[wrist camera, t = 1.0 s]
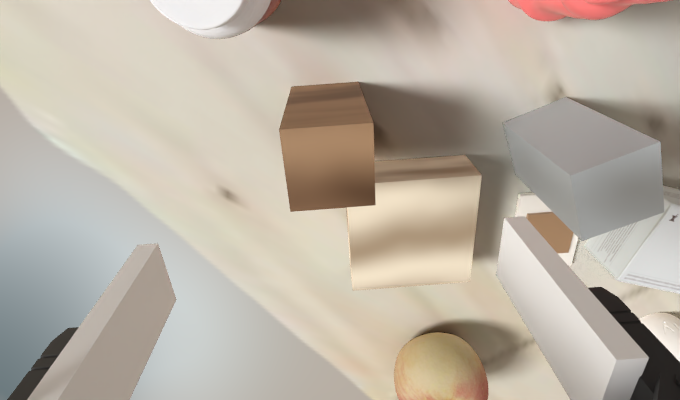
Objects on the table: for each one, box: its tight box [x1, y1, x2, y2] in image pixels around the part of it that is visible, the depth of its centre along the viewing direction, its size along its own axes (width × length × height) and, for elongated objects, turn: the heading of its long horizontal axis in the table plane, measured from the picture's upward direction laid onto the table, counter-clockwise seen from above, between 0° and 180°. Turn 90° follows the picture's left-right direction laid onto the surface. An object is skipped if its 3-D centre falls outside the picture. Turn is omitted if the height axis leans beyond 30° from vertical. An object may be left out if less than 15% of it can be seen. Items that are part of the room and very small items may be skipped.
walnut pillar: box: [279, 82, 376, 212], centre depth 27 cm, size 5×5×10 cm
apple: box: [394, 332, 488, 400], centre depth 40 cm, size 9×9×8 cm
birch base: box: [346, 155, 482, 291], centre depth 34 cm, size 10×10×4 cm
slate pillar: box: [503, 97, 664, 241], centre depth 29 cm, size 5×5×10 cm
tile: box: [515, 192, 578, 266], centre depth 37 cm, size 8×6×1 cm
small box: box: [584, 185, 680, 294], centre depth 35 cm, size 8×8×5 cm
